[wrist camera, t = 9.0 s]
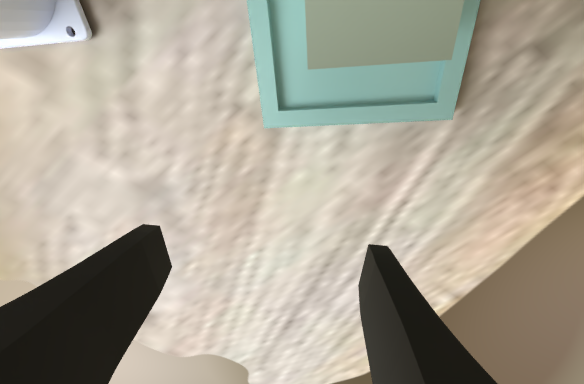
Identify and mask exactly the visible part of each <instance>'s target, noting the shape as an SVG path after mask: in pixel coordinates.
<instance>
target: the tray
mask: <svg viewBox="0 0 584 384" xmlns="http://www.w3.org/2000/svg"><path fill="white" fill-rule="evenodd" d="M479 4H480V0H464V4H463V9H462V13H461V18H460V23H459V28H458V32H457V37H456V42H455V46H454V51H453V56H452V60H443V61H428V62H414V63H399V64H384V65H370V66H355V67H340V68H326V69H311V70H308V65H307V41H306V17H305V0H247V5H248V13H249V20H250V27H251V35H252V42H253V49H254V57H255V64H256V71H257V79H258V86H259V93H260V101H261V108H262V115H263V123H264V128H280V127H302V126H324V125H346V124H368V123H390V122H412V121H434V120H452V119H453V114H454V110H455V106H456V102H457V97H458V93H459V89H460V85H461V81H462V76H463V72H464V68H465V64H466V59H467V55H468V51H469V47H470V42H471V38H472V34H473V30H474V26H475V21H476V17H477V13H478V9H479Z"/></svg>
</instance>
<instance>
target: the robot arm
mask: <svg viewBox="0 0 584 384" xmlns="http://www.w3.org/2000/svg"><path fill="white" fill-rule="evenodd" d="M71 28H73V29H74V31H75V35H74V34H73V33H72V30H71ZM91 37H92V32H91V29H90V26H89V24H88V21H87V19H86V17H85V14H84V12H83V9H82V7H81V4H80V2H79V0H0V49H3V48H13V47H24V46H34V45H45V44H55V43H66V42H76V41H87V40H90V38H91ZM171 268H172V265H171V262H170V258H169V255H168V252H167V248H166V245H165V242H164V238H163V235H162V232H161V228H160V226H157V225H145V224H143V225H141V226H139V227H137V228H136V229H134V230H132V231H130V232H129V233H127V234H125V235H124V236H122V237H121V238H119V239H117V240H116V241H114V242H112V243H111V244H109V245H108V246H106V247H104V248H103V249H101V250H100V251H98V252H96V253H95V254H93V255H91V256H90V257H88V258H87V259H85V260H83V261H82V262H80V263H78V264H77V265H75V266H73V267H72V268H70V269H68V270H66V271H65V272H63V273H61V274H60V275H58V276H56V277H54V278H53V279H51V280H49V281H47V282H46V283H44V284H42V285H40V286H39V287H37V288H35V289H34V290H32V291H30V292H28V293H26V294H24V295H22V296H21V297H19V298H17V299H15V300H13V301H11V302H9V303H7V304H5V305H3V306H1V307H0V384H108V383H109V381H110V379H111V377H112V375H113V373H114V371H115V369H116V368H117V366H118V364H119V362H120V360H121V359H122V357H123V355H124V354H125V352H126V350H127V349H128V347H129V345H130V344H131V342H132V340H133V339H134V337H135V335H136V334H137V332H138V330H139V329H140V327H141V325H142V324H143V322H144V320H145V319H146V317H147V315H148V314H149V312H150V310H151V309H152V307H153V305H154V304H155V302H156V300H157V299H158V297H159V295H160V293H161V291H162V289H163V287H164V284H165V282H166V280H167V278H168V275H169V273H170V270H171ZM359 302H360V315H361V321H362V327H363V332H364V338H365V344H366V349H367V355H368V360H369V366H370V371H371V377H372V382H373V384H497V383H496V382H495V381H494V380H493V378H492V377H491V376H490V375H489V374H488V373H487V372H486V371H485V370H484V369H483V368H482V367H481V366H480V364H479V363H478V362H477V361H476V360H475V359H474V358H473V357H472V356H471V355H470V353H469V352H468V351H467V350H466V349H465V348H464V346H463V345H462V344H461V343H460V342H459V341H458V339H457V338H456V337H455V336H454V335H453V334H452V332H451V331H450V330H449V329H448V327H447V326H446V325H445V324H444V323H443V321H442V320H441V319H440V318H439V316H438V315H437V314H436V313H435V311H434V310H433V309H432V307H431V306H430V305H429V303H428V302H427V301H426V299H425V298H424V297H423V296H422V294H421V293H420V292H419V290H418V289H417V287H416V286H415V285H414V283H413V282H412V281H411V279H410V278H409V276H408V275H407V273H406V272H405V271H404V269H403V268H402V266H401V265H400V263H399V262H398V260H397V259H396V257H395V256H394V254H393V253H392V251H391V250H390V249H389V247H388V246H381V245H370V244H369V245H368V249H367V253H366V257H365V261H364V265H363V269H362V273H361V277H360V281H359Z"/></svg>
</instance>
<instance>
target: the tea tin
mask: <svg viewBox="0 0 584 384" xmlns="http://www.w3.org/2000/svg"><path fill="white" fill-rule="evenodd" d="M463 4H464V0H305V17H306V41H307V65H308V70H311V69H326V68H340V67H355V66H370V65H384V64H399V63H414V62H428V61H443V60H452V56H453V51H454V46H455V42H456V37H457V32H458V28H459V23H460V18H461V13H462V9H463Z"/></svg>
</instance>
